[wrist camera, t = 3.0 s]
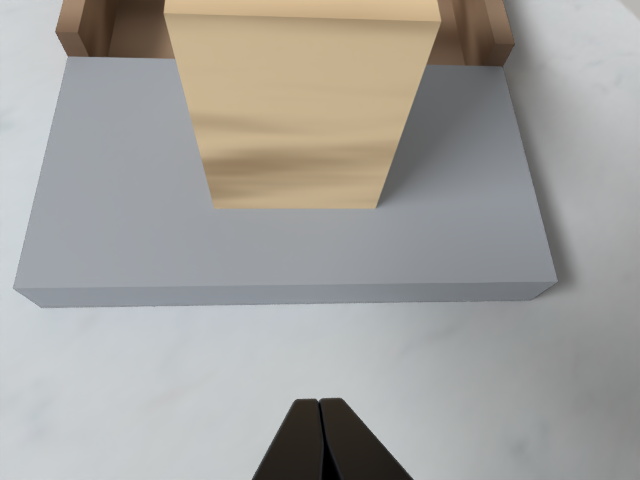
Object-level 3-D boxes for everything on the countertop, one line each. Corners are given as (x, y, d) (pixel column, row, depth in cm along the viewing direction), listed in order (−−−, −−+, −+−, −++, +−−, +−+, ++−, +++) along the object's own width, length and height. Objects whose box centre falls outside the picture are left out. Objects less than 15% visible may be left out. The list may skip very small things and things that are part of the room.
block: (375, 208, 22) (441, 21, 13) (214, 208, 21) (163, 13, 12) (363, 85, 25) (410, -138, 16) (221, 82, 24) (185, -150, 15)
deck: (531, 300, 23) (557, 281, 21) (41, 307, 21) (12, 288, 19) (484, 99, 28) (502, 66, 26) (86, 91, 26) (67, 56, 24)
